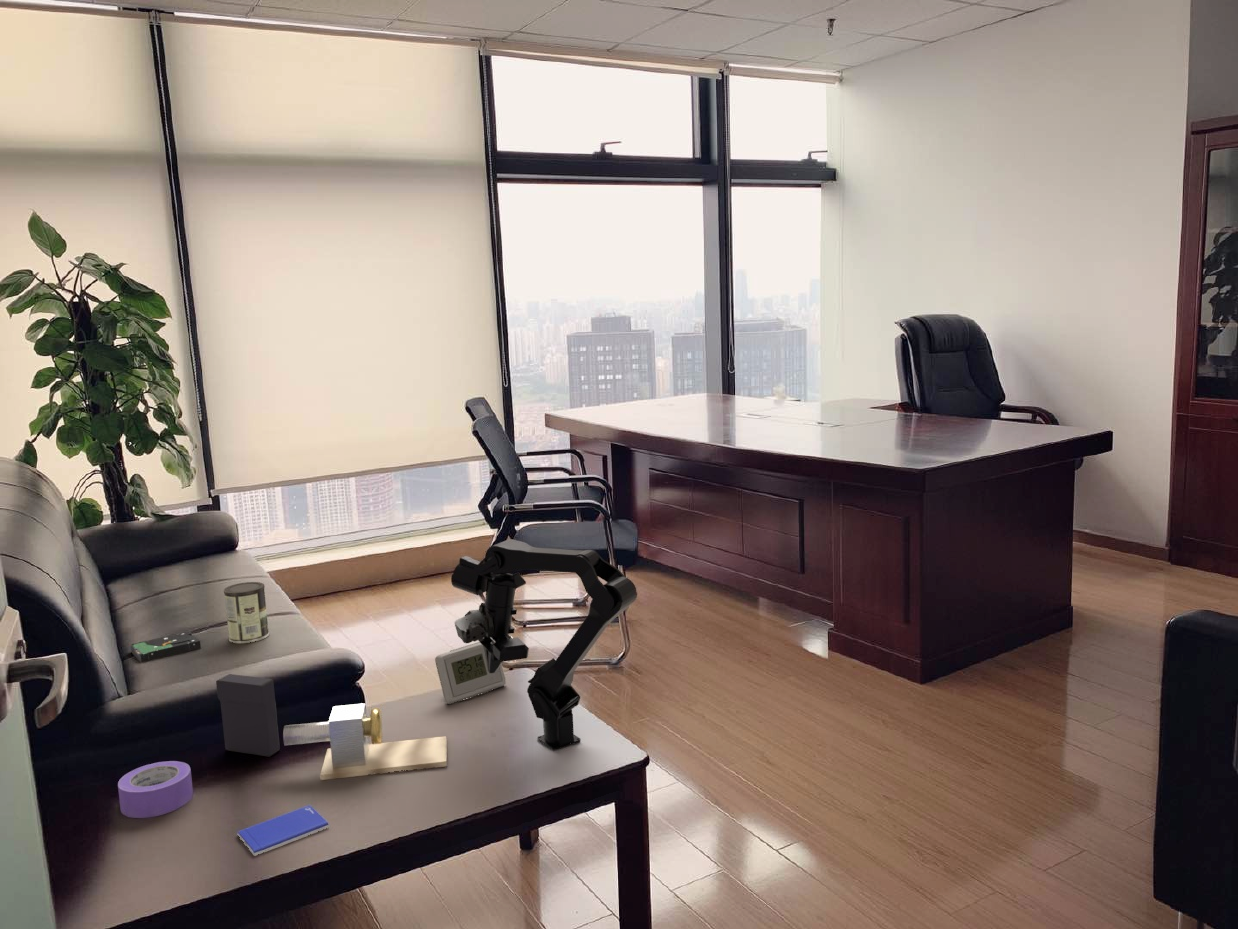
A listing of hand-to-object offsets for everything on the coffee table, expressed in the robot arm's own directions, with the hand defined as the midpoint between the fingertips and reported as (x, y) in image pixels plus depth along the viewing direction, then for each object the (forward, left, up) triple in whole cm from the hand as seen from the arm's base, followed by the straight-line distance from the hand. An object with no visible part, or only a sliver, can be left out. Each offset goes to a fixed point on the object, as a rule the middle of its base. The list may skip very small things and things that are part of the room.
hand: (491, 672), depth 193 cm
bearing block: (+3, +29, -11) cm, 31 cm away
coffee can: (+93, +26, -12) cm, 98 cm away
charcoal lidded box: (+21, +43, -12) cm, 49 cm away
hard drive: (-14, +47, -13) cm, 50 cm away
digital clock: (+19, -5, -12) cm, 23 cm away
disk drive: (+97, +46, -13) cm, 108 cm away
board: (0, +23, -12) cm, 26 cm away
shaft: (+4, +32, -8) cm, 33 cm away
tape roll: (+11, +62, -12) cm, 64 cm away
